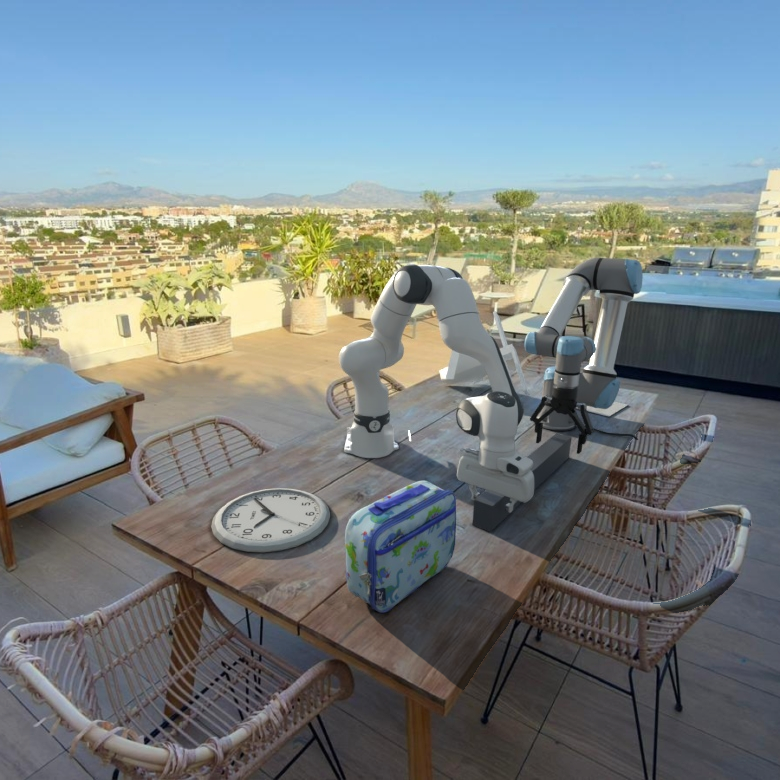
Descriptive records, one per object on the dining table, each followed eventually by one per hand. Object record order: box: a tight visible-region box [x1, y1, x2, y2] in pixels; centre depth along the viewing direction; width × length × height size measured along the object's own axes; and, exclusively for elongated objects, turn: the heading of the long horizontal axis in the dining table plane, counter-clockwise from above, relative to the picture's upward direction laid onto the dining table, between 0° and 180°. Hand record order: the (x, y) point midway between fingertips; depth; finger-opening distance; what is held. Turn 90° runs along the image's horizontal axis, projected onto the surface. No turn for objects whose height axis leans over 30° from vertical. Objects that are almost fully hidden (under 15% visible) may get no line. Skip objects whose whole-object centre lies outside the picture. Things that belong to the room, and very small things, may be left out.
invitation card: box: [575, 401, 629, 418], centre depth 226 cm, size 21×1×15 cm
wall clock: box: [210, 487, 331, 553], centre depth 136 cm, size 30×2×30 cm
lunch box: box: [344, 480, 457, 614], centre depth 109 cm, size 26×11×21 cm, turn 135°
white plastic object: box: [438, 310, 531, 397], centre depth 245 cm, size 37×45×31 cm
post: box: [472, 432, 572, 532], centre depth 154 cm, size 58×5×7 cm, turn 143°
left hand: (491, 505), depth 135 cm, fingers open, 8 cm apart
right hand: (558, 447), depth 172 cm, fingers open, 13 cm apart
